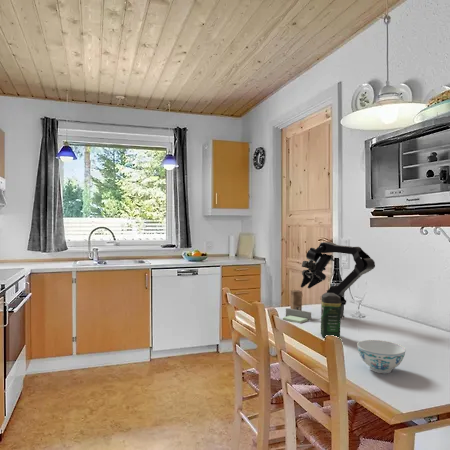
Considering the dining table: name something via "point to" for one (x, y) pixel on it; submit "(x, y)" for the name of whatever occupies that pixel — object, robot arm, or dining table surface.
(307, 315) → the grey rail
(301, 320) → the green pad
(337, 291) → the robot arm
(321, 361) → the dining table surface
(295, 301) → the walnut block
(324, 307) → the coffee jar
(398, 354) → the chinaware
